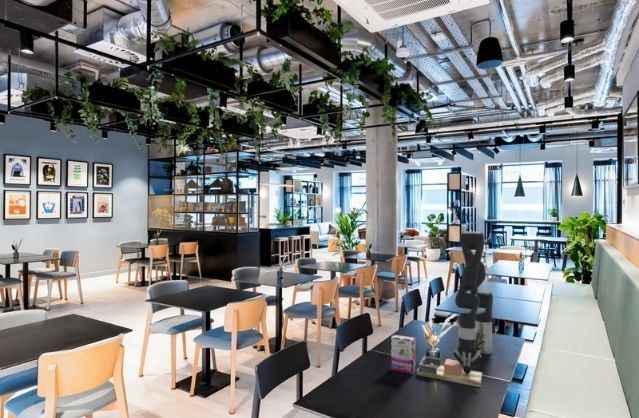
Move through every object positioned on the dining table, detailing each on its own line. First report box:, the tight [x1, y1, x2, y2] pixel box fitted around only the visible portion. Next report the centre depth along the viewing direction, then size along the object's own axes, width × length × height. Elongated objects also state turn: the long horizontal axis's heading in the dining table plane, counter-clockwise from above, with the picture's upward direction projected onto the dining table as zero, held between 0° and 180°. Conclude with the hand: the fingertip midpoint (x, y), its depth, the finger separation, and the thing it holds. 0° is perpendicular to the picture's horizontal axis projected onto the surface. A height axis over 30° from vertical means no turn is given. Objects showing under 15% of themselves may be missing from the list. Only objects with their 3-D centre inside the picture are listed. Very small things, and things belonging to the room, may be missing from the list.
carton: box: [443, 358, 463, 377], centre depth 186 cm, size 7×7×4 cm
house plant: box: [471, 330, 488, 362], centre depth 205 cm, size 14×14×16 cm
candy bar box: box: [390, 334, 417, 375], centre depth 192 cm, size 11×5×16 cm, turn 62°
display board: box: [416, 356, 483, 388], centre depth 187 cm, size 12×28×5 cm, turn 64°
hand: (467, 373), depth 183 cm, fingers closed
